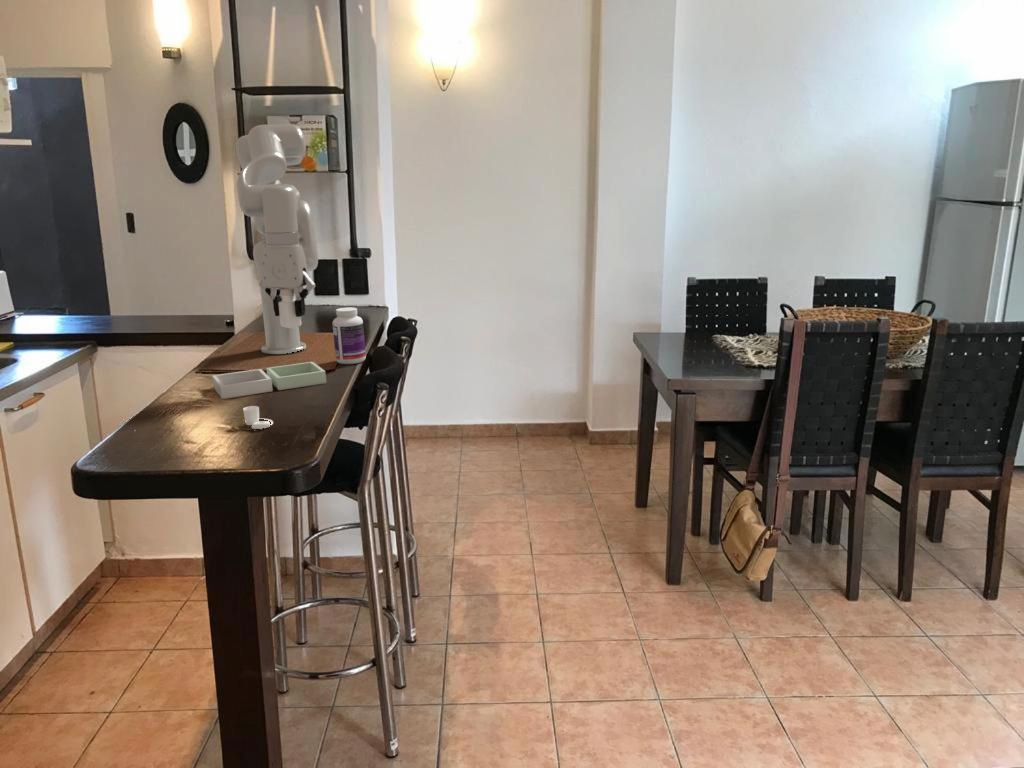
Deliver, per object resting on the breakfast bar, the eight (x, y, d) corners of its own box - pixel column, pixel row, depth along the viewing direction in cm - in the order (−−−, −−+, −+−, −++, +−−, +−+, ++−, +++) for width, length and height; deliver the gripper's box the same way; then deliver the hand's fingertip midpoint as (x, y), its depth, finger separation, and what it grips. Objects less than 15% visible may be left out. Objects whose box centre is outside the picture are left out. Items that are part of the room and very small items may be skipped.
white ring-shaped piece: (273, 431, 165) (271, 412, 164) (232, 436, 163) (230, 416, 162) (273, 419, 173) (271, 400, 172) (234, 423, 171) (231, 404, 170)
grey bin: (213, 387, 197) (212, 375, 196) (262, 380, 202) (260, 368, 201) (222, 398, 187) (220, 386, 186) (272, 391, 192) (271, 379, 192)
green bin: (267, 379, 203) (266, 367, 202) (313, 372, 208) (312, 361, 207) (278, 390, 193) (277, 378, 192) (326, 383, 198) (325, 371, 198)
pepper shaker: (302, 326, 197) (299, 287, 194) (288, 329, 194) (284, 289, 192) (294, 324, 200) (290, 285, 197) (279, 326, 197) (275, 288, 194)
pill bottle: (372, 359, 221) (368, 307, 217) (354, 366, 214) (350, 312, 210) (347, 357, 224) (343, 305, 220) (329, 363, 217) (325, 310, 213)
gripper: (242, 241, 190) (250, 317, 195) (306, 241, 186) (313, 319, 190) (260, 237, 197) (268, 311, 202) (322, 238, 192) (329, 313, 197)
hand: (290, 314), depth 196 cm, fingers closed on pepper shaker, 5 cm apart
